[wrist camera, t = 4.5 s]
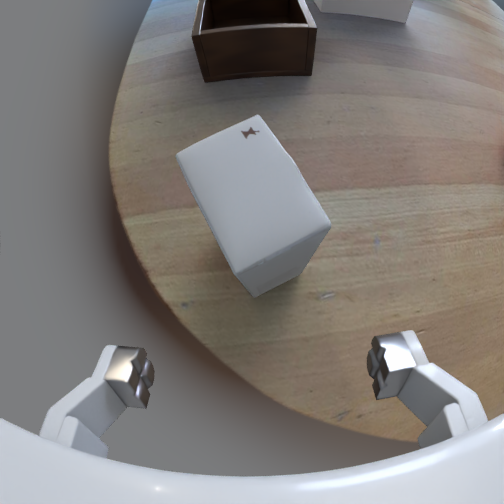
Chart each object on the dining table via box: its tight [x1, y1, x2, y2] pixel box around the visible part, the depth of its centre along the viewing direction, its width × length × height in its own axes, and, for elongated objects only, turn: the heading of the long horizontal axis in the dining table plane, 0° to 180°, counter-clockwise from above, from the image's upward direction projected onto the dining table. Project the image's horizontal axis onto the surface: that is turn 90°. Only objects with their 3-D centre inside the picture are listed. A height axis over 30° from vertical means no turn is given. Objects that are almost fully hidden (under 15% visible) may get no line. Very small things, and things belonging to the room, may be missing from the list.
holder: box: [192, 0, 317, 83], centre depth 25 cm, size 12×14×7 cm
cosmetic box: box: [176, 115, 331, 297], centre depth 17 cm, size 6×4×12 cm
